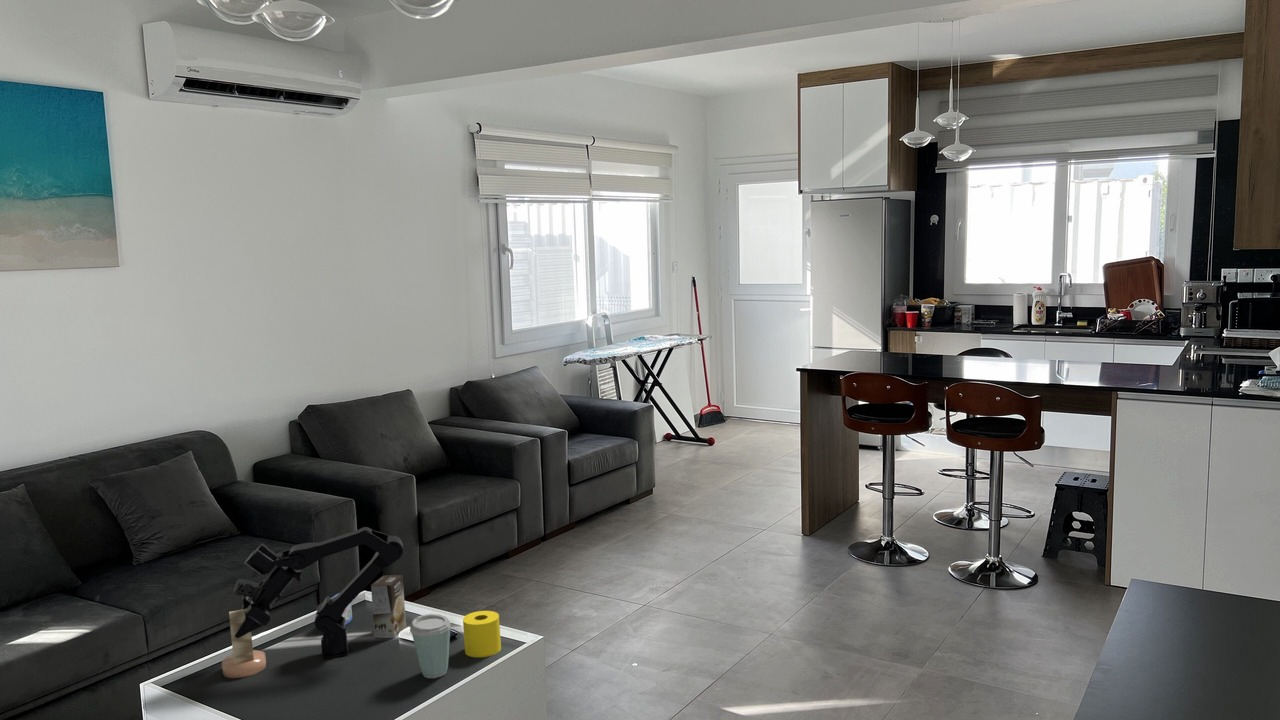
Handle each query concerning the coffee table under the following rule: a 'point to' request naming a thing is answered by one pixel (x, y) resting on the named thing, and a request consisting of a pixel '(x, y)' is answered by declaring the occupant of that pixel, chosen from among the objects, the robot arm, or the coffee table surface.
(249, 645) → the birch block
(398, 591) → the coffee box
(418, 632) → the disposable coffee cup
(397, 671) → the coffee table surface
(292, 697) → the coffee table surface
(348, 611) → the medicine box
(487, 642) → the yellow toilet paper roll
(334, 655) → the robot arm
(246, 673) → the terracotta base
